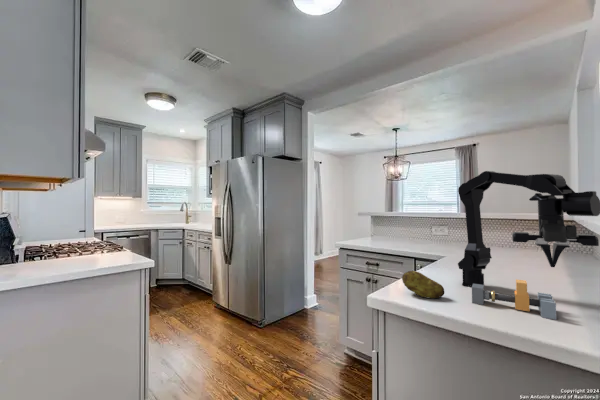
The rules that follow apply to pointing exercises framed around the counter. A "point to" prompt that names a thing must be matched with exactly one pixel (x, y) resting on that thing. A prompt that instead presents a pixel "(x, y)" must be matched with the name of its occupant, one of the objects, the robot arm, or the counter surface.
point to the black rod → (512, 299)
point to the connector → (479, 294)
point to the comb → (547, 306)
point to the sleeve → (521, 296)
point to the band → (493, 296)
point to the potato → (422, 285)
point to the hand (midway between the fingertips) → (552, 267)
